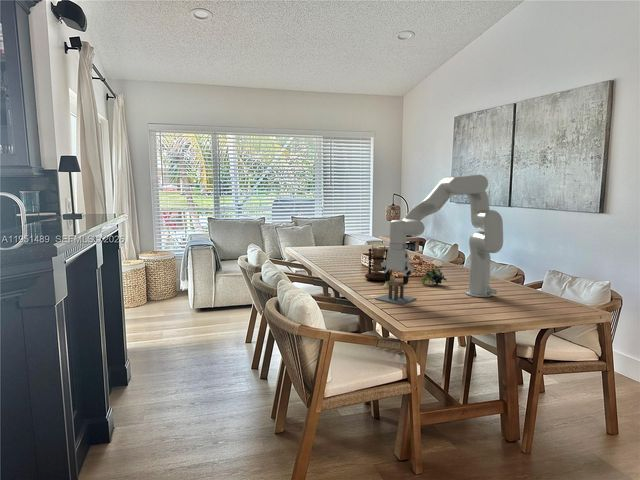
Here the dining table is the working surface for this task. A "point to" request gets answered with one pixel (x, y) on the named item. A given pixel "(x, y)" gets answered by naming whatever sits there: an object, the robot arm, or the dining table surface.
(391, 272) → the hand bell
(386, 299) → the slate mat
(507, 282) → the dining table surface
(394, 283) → the walnut stool
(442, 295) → the dining table surface
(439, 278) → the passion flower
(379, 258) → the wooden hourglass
